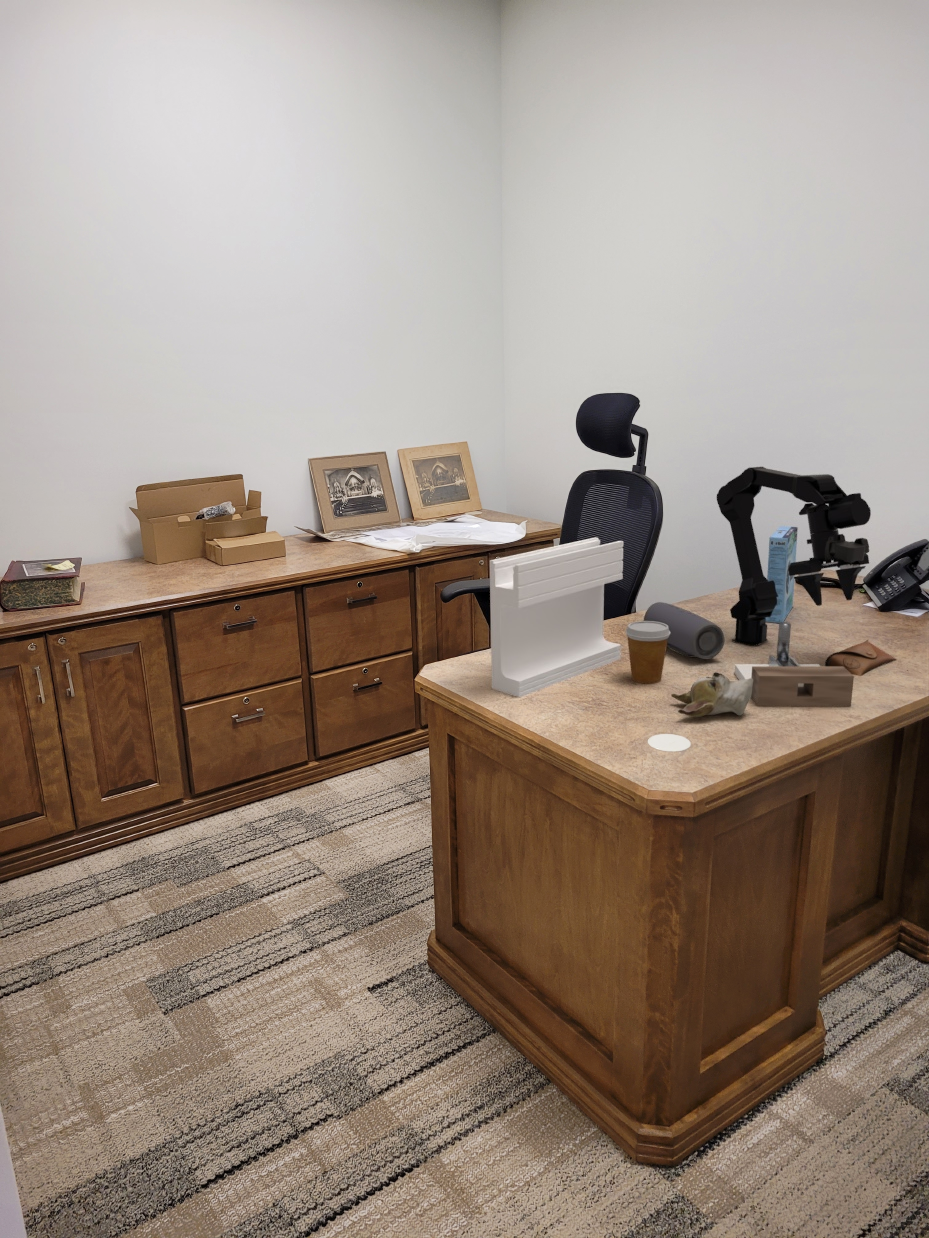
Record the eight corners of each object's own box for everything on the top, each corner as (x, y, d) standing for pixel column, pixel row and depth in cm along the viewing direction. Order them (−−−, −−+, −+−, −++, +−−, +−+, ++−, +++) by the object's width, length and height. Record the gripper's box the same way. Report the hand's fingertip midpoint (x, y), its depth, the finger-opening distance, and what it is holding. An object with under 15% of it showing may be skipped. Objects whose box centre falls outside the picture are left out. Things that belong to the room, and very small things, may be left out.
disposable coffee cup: (670, 673, 193) (672, 621, 190) (665, 688, 185) (667, 633, 181) (627, 670, 196) (629, 619, 193) (620, 684, 188) (622, 630, 184)
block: (593, 652, 210) (595, 537, 203) (620, 659, 205) (623, 541, 197) (491, 688, 187) (489, 560, 180) (519, 697, 181) (518, 565, 174)
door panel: (734, 672, 193) (735, 652, 192) (817, 672, 191) (819, 652, 190) (746, 689, 182) (747, 668, 181) (834, 689, 181) (836, 667, 180)
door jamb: (750, 695, 179) (752, 666, 177) (840, 695, 178) (843, 666, 176) (757, 706, 173) (759, 676, 171) (850, 706, 172) (853, 676, 170)
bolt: (774, 666, 189) (777, 622, 186) (785, 666, 189) (789, 622, 186) (785, 678, 181) (788, 632, 178) (797, 678, 181) (800, 632, 178)
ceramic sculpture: (759, 679, 162) (677, 683, 164) (759, 723, 164) (678, 726, 166) (746, 662, 172) (669, 666, 174) (747, 703, 175) (671, 707, 176)
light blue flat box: (782, 624, 230) (789, 538, 224) (762, 622, 232) (768, 537, 226) (793, 607, 246) (799, 526, 240) (774, 605, 249) (780, 525, 243)
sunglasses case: (861, 676, 188) (848, 648, 189) (833, 685, 194) (820, 657, 195) (899, 659, 199) (886, 632, 200) (871, 667, 205) (859, 641, 206)
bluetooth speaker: (640, 640, 219) (641, 601, 216) (673, 636, 221) (674, 598, 219) (690, 666, 198) (692, 624, 195) (725, 662, 201) (727, 620, 198)
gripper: (822, 530, 179) (833, 606, 179) (885, 522, 187) (895, 594, 187) (781, 538, 189) (792, 609, 189) (842, 530, 197) (852, 598, 197)
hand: (834, 602), depth 190 cm, fingers open, 9 cm apart
